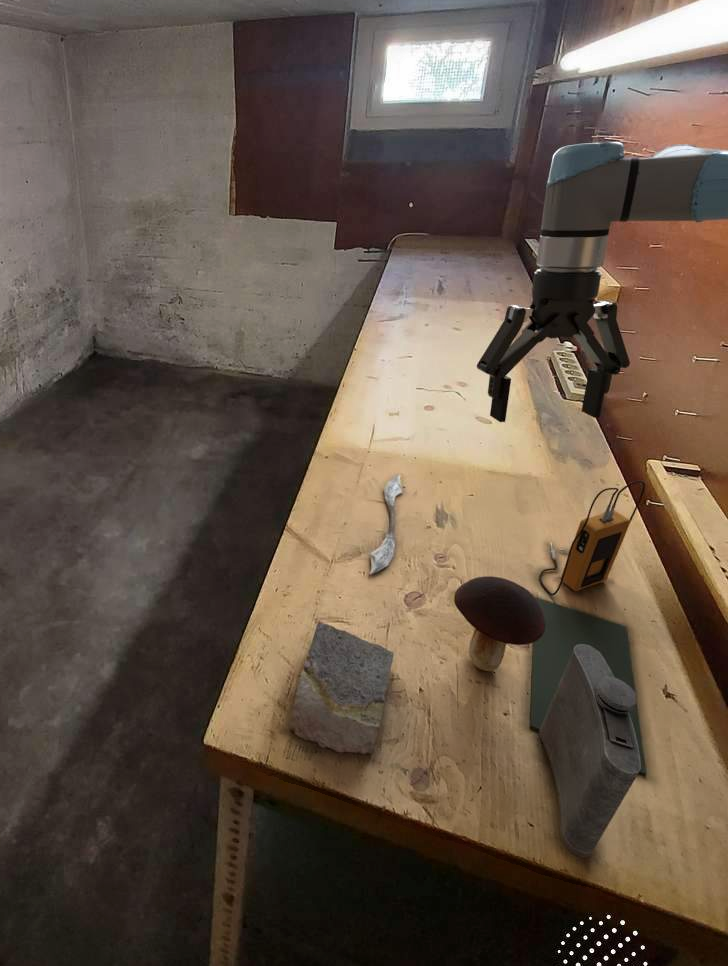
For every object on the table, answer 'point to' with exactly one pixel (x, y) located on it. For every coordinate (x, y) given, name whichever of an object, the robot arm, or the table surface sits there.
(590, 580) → the multimeter
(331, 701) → the geological specimen
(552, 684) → the mat
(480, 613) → the decorative mushroom
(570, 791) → the flask
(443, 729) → the table surface
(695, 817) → the table surface
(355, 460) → the table surface
